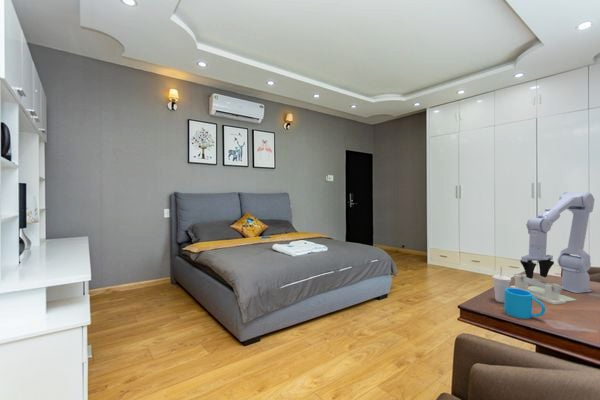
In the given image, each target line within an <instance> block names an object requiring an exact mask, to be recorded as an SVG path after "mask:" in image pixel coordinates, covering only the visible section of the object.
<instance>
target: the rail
mask: <svg viewBox="0 0 600 400" xmlns="http://www.w3.org/2000/svg"><path fill="white" fill-rule="evenodd" d="M515 275H519V276H521V281H523V282H526V283H528V285H531V286H537V287H540V288H543V289H545V285H546V284H547V285H551V286H552V291H553V292H556V293H558V292H560V293H562V289H561V286H562V285H560V286H557V285H558V284H557V285H554V284H555V283H550V282H547V281H544V280H541V279H538V278H534V277H533V278H532V279H531V278H527V277H526V276H525V275H526V274H524V275H523V274H521V273H514V275H513V276H514V278H513V279H514V280H515Z"/></svg>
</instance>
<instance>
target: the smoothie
mask: <svg viewBox="0 0 600 400" xmlns="http://www.w3.org/2000/svg"><path fill="white" fill-rule="evenodd" d="M499 267H500V268H499V270H500V273H499V274H500V275H499V274H498V275H496V274H495V275H492V280H493V288H494V289H493V290H494V297H495V301H496V302H499V303H504V302H505V289H507V288H510V286H511V285H510V284H511V282H512V278H511V277H509V276H505V275H503V266H499Z"/></svg>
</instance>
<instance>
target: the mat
mask: <svg viewBox="0 0 600 400" xmlns="http://www.w3.org/2000/svg"><path fill="white" fill-rule="evenodd" d="M528 288H530V289H533V290H536V291H539V292H542V293H544V294H545V289H544V288H541V287H538V286H535V285H531V286H528ZM559 299H562V300H565V301H566V303H568V302H575V301H576V302H577V301H578V299H576V298H572V297H571V296H567V295H565V294H561V293H560V295H559Z"/></svg>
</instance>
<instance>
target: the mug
mask: <svg viewBox="0 0 600 400" xmlns="http://www.w3.org/2000/svg"><path fill="white" fill-rule="evenodd" d="M532 296H533V294H532V293H530V292H528V291H526V290H522V289H516V288H510V287H509V288H507V289H505V302H504V306H503V307H504V308H503V309H504V310H503V311H505V312H504V313H505V314H506V313H507V315H508V314H509V316H511V317H514V318H518V319H531V318H535V317H536V318H537V317H542V316H543V315H544V314H545V313H546V307H545V304H544V303H543V302H542V301H541V300H540V299H537V298H535V297H532ZM533 301H535V302H537V303H538V304H539V305H540V307H541V311H540V312H539V313H536V314H535V313H534V314H533Z"/></svg>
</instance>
